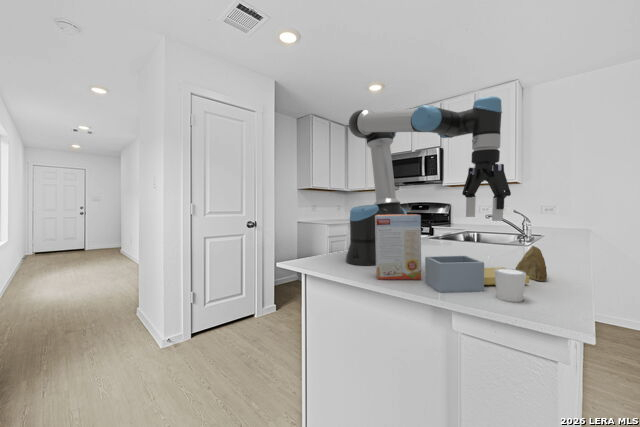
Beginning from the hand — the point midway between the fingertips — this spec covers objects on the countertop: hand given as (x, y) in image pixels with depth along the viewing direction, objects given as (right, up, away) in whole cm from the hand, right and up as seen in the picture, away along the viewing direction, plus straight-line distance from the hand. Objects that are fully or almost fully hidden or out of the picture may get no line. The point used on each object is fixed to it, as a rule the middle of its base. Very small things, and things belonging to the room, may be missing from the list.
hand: (482, 218), depth 90 cm
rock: (+17, -19, +2) cm, 25 cm away
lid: (+3, -19, -1) cm, 19 cm away
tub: (-12, -20, -6) cm, 24 cm away
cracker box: (-26, -20, +5) cm, 33 cm away
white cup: (-2, -20, -16) cm, 26 cm away
